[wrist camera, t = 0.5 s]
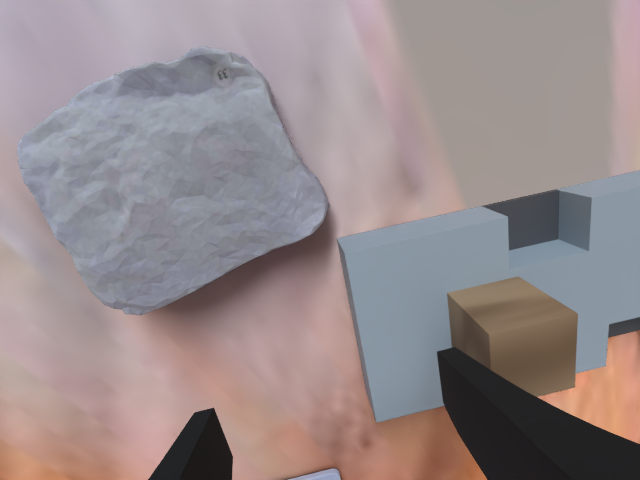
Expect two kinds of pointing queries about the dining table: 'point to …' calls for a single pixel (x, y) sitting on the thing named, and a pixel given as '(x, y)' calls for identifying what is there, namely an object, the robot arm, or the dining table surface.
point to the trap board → (490, 279)
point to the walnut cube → (516, 333)
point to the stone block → (170, 178)
